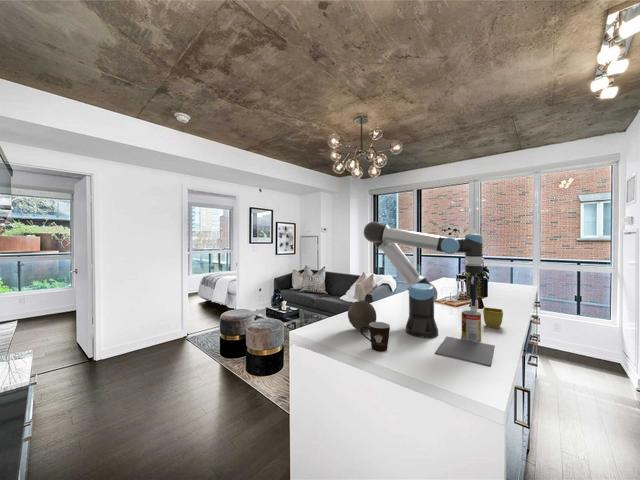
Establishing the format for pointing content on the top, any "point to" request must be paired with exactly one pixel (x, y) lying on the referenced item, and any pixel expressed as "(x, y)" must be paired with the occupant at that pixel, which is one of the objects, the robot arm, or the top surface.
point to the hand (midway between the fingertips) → (473, 312)
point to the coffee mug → (378, 335)
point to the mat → (466, 350)
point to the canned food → (471, 325)
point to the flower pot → (492, 317)
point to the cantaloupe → (361, 314)
